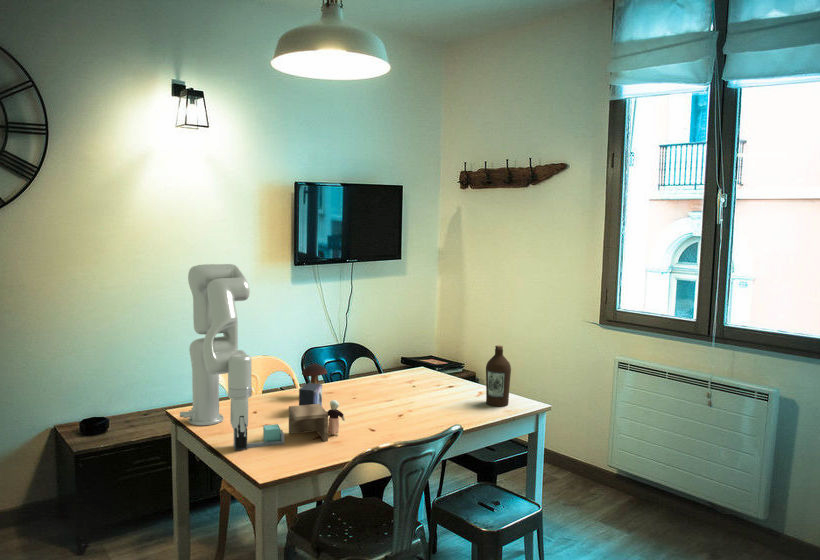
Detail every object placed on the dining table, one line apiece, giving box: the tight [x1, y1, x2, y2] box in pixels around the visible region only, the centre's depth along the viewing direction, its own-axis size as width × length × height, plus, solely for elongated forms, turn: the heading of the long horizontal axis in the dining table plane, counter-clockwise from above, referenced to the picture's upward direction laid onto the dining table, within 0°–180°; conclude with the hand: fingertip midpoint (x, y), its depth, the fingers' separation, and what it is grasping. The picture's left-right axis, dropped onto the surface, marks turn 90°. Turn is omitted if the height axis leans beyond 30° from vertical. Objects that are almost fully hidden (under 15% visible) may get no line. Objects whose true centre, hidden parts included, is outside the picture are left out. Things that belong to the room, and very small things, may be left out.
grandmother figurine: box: [326, 399, 346, 437], centre depth 228 cm, size 8×4×13 cm, turn 93°
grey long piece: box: [233, 426, 285, 452], centre depth 216 cm, size 16×6×7 cm, turn 111°
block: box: [262, 423, 281, 442], centre depth 221 cm, size 5×5×5 cm
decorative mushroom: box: [301, 362, 328, 384], centre depth 276 cm, size 11×11×15 cm
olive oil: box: [485, 345, 512, 408], centre depth 272 cm, size 11×11×25 cm
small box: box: [298, 382, 323, 407], centre depth 255 cm, size 11×6×10 cm, turn 168°
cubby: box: [288, 404, 329, 442], centre depth 225 cm, size 11×13×10 cm
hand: (240, 445), depth 213 cm, fingers closed on grey long piece, 4 cm apart
